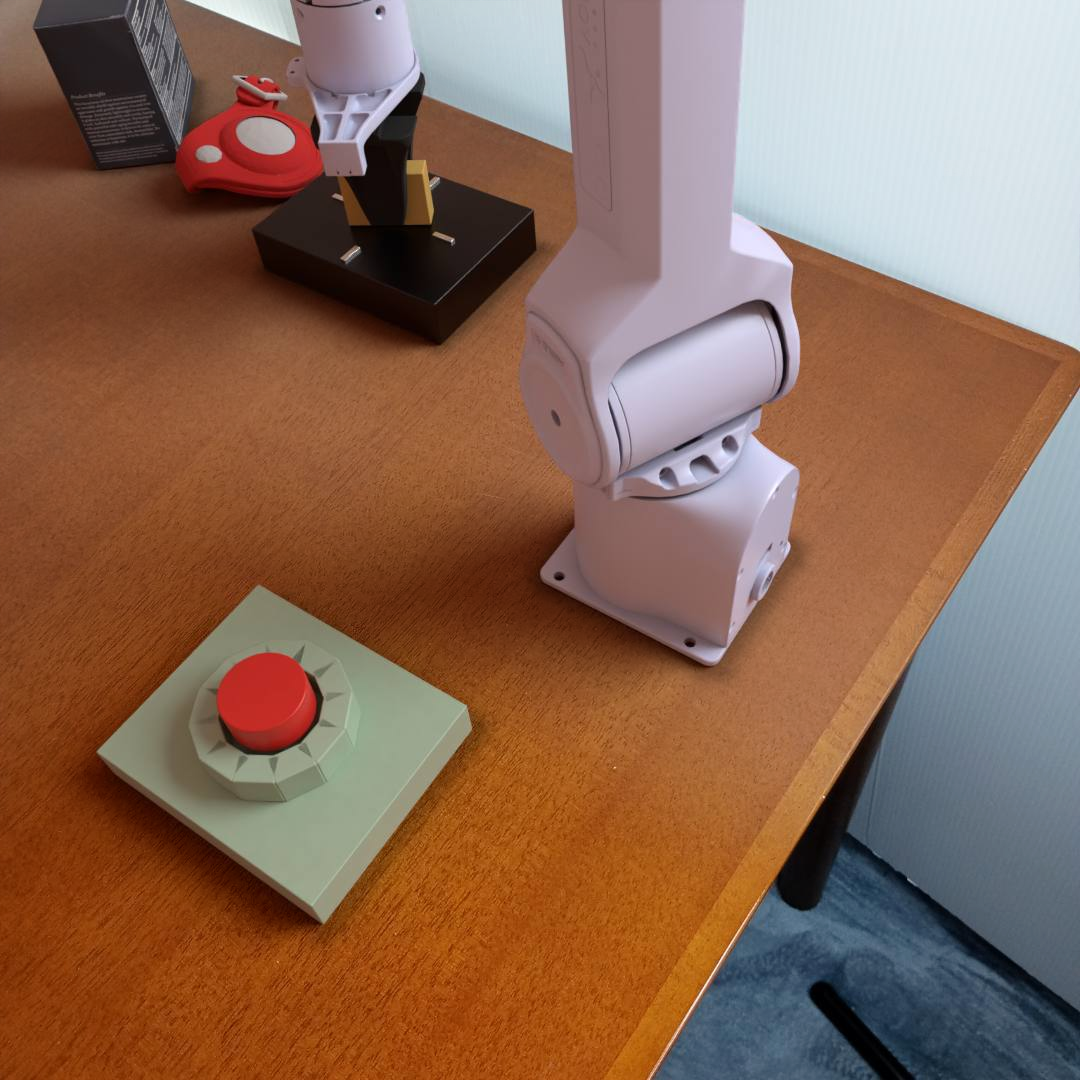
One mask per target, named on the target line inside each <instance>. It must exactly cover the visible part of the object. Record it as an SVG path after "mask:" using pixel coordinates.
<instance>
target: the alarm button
mask: <svg viewBox="0 0 1080 1080" xmlns="http://www.w3.org/2000/svg"><path fill="white" fill-rule="evenodd" d="M216 702H217V708H218V712H219V714H220V716H221V718H222V719H223V721H224V722H225V724H226V726H227V727H228V729H229V730H230V732H231V734H232V735H233V737H234V738H235V739H236V740H237V742H239V743H240V744H241V745H243V746H244V747H246V748H249V749H251V750H255V751H274V750H278V749H282V748H284V747H287V746H289V745H290V744H292V743H294V742H295V741H297V740H298V739H299V738H300V737H301V736H302V735H303V734H304V733H305V732H306V731H307V730H308V728H309V727H310V725H311V723H312V721H313V719H314V716H315V713H316V697H315V694H314V691H313V689H312V687H311V685H310V683H309V680H308V678H307V676H306V674H305V672H304V670H303V668H302V667H301V665H300V664H299V663H298V662H297V661H295V660H294V659H293V658H291V657H289V656H286V655H284V654H280V653H273V652H268V653H260V654H256V655H252V656H250V657H247V658H245V659H243V660H242V661H240V662H239V663H237V664H236V665H235V666H233V667H232V668H231V669H230V670H229V671H228V672H227V674H226V675H225V676H224V678H223V679H222V681H221V683H220V685H219V688H218V692H217V700H216Z"/></svg>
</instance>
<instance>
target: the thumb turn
mask: <svg viewBox="0 0 1080 1080" xmlns="http://www.w3.org/2000/svg"><path fill="white" fill-rule="evenodd" d="M427 165H428V164H427V160H426V159H412V160H407V212H406V218H405V223H404V225H431V223H432V218H433V213H434V208H433V202H432V196H431V190H430V183H429V177H428V172H429V171H428V166H427ZM338 180H339V185H340V189H341V193H342V197H343V201H344V205H345V210H346V214H347V218H348V222H349V225H350V226H359V225H371V224H370V223H369V221H368V219H367V218H366V216H365V214H364V212H363V210H362V209H361V207H360V205H359V203H358V201H357V199H356V197H355V195H354V193H353V191H352V190H351V188H350V186H349V184H348V183H347V181H346V179H345V178H344V176H338Z"/></svg>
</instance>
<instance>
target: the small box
mask: <svg viewBox="0 0 1080 1080" xmlns="http://www.w3.org/2000/svg"><path fill="white" fill-rule="evenodd" d="M32 29H33V31H34V33H35V36H36V38H37V40H38V42H39V45H40V46H41V49H42V51H43V53H44V55H45V57H46V60H47V62H48V64H49V66H50V68H51V70H52V72H53V75H54V77H55V79H56V81H57V84H58V86H59V88H60V91H61V92H62V95H63V97H64V100H65V101H66V103H67V106H68V108H69V110H70V112H71V115H72V117H73V119H74V121H75V123H76V125H77V127H78V129H79V132H80V134H81V137H82V138H83V141H84V143H85V146H86V147H87V151H88V153H89V154H90V157H91V159H92V162H93V163H94V165H95V167H96V169H97V170H98V171H101V170H109V169H110V170H111V169H117V168H127V167H135V166H145V165H151V164H152V165H153V164H158V163H167V162H176V156H177V152H178V150H179V147H180V145H181V142H182V140H183V139H184V138H185V136H186V135H187V134H188V129H189V123H190V117H191V112H192V111H191V110H192V104H193V101H194V92H195V87H196V79H195V77H194V73H193V71H192V70H191V66H190V64H189V61H188V59H187V56H186V54H185V51H184V48H183V46H182V43H181V40H180V37H179V35H178V32H177V28H176V26H175V24H174V20H173V18H172V16H171V12H170V8H169V5H168V3H167V0H41V2H40V6H39V8H38V10H37V14H36V16H35V19H34V22H33V24H32Z"/></svg>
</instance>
